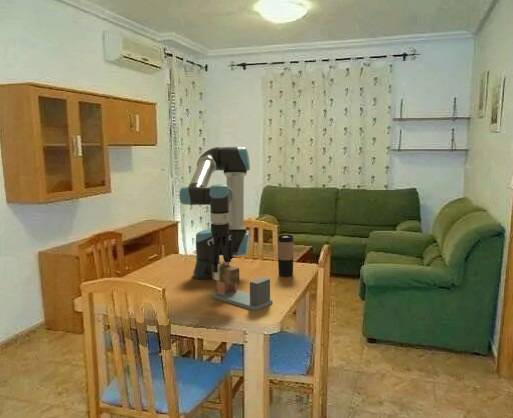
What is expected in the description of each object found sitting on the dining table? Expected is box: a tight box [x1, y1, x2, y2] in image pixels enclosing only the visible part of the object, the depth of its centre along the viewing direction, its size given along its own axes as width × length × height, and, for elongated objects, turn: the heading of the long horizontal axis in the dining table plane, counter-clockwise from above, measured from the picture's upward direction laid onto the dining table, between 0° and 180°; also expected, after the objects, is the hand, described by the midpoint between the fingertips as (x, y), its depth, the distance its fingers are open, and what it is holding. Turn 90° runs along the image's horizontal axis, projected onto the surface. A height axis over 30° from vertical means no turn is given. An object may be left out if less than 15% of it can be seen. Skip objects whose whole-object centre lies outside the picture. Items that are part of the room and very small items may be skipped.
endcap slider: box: [215, 280, 238, 296], centre depth 195 cm, size 4×8×8 cm, turn 139°
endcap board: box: [211, 276, 273, 312], centre depth 189 cm, size 25×11×11 cm, turn 49°
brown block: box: [211, 262, 240, 285], centre depth 183 cm, size 12×4×6 cm, turn 47°
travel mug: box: [277, 234, 294, 278], centre depth 224 cm, size 8×8×20 cm
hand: (221, 278), depth 185 cm, fingers closed on brown block, 4 cm apart
